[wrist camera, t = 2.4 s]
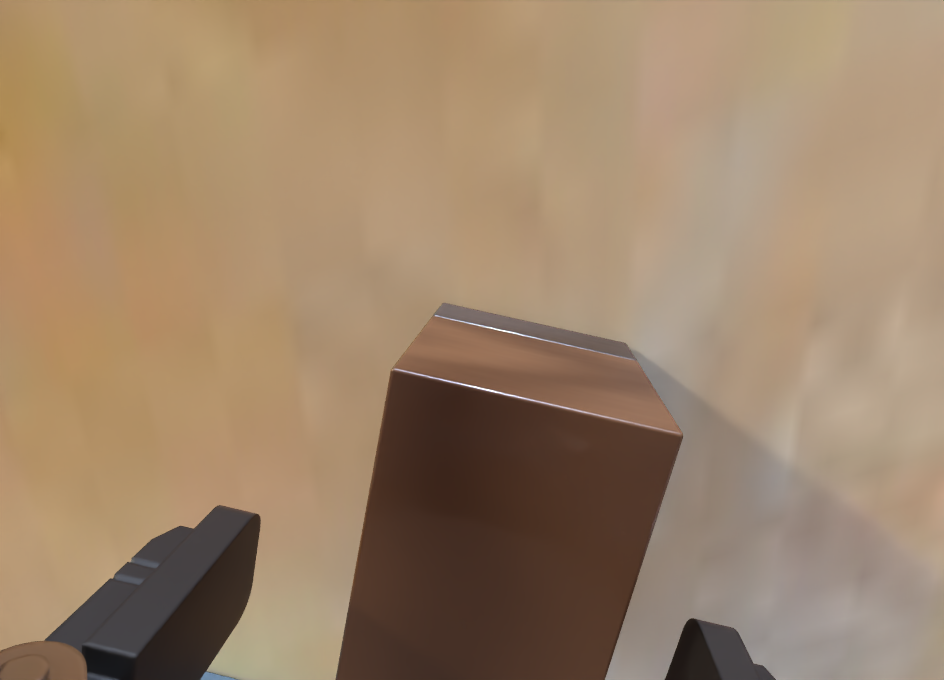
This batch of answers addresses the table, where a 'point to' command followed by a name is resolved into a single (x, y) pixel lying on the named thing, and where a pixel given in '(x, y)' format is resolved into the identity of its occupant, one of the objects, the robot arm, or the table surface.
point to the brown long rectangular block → (506, 504)
